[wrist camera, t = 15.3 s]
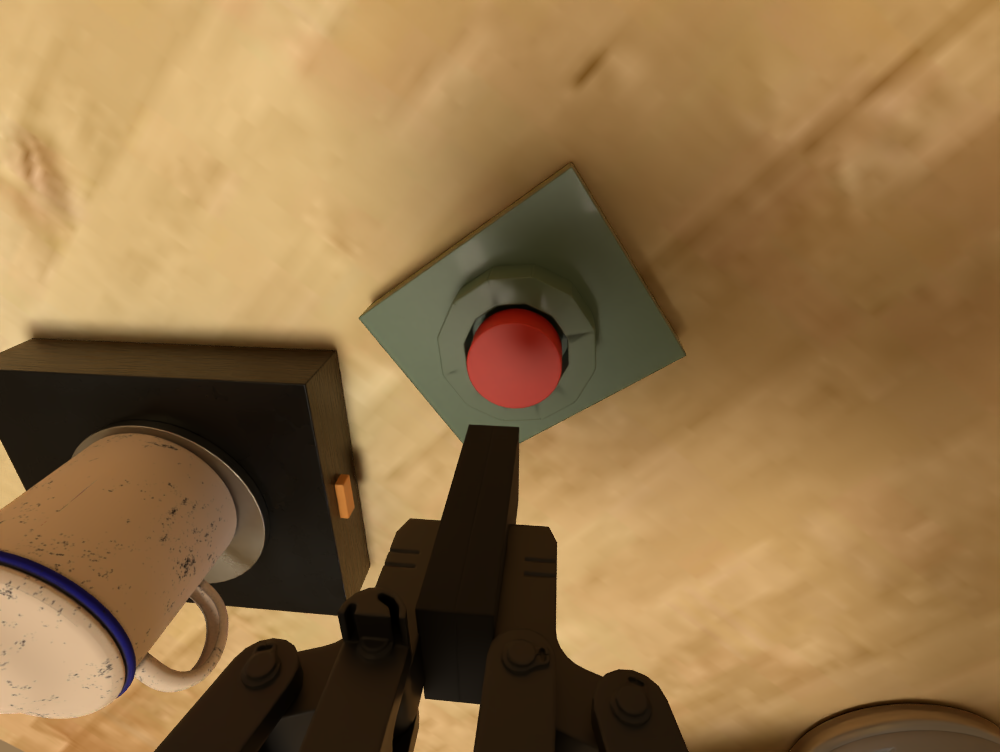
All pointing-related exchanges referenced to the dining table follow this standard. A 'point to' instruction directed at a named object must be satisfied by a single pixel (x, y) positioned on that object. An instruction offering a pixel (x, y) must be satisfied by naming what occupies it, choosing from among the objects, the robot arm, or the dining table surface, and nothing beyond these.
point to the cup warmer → (212, 448)
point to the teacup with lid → (108, 574)
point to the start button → (515, 358)
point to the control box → (532, 286)
